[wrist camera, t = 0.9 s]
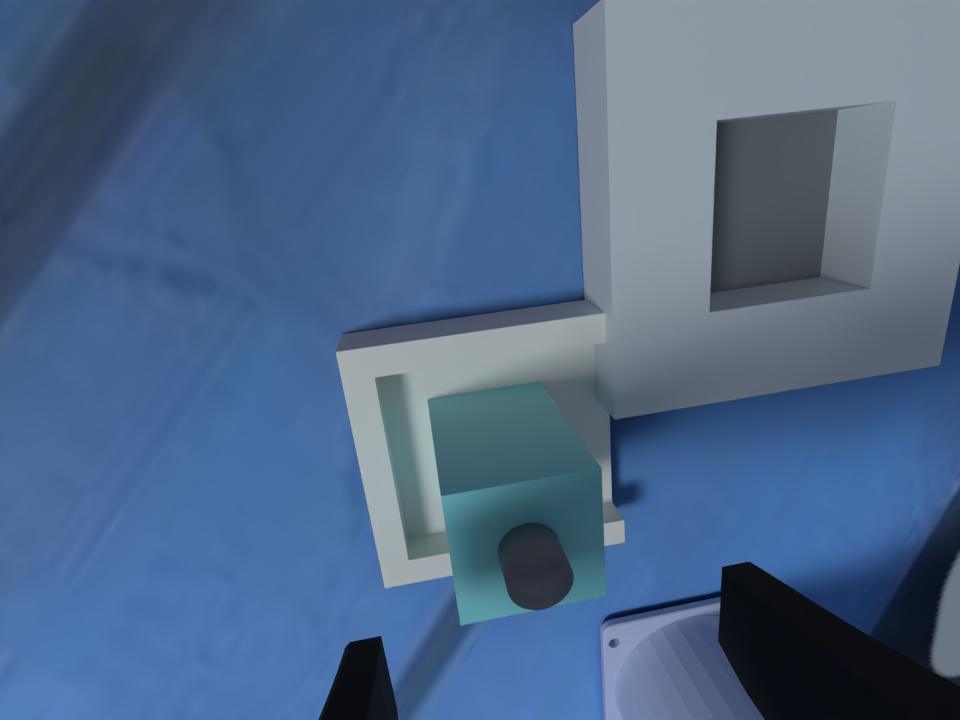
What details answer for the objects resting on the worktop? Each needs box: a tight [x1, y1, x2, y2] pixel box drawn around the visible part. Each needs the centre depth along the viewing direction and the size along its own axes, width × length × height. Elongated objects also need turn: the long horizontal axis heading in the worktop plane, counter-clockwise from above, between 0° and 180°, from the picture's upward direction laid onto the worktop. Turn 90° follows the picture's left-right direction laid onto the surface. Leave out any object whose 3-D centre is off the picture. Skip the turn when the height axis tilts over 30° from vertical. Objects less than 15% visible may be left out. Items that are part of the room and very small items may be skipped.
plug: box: [427, 382, 606, 625], centre depth 16 cm, size 4×4×7 cm
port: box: [573, 0, 960, 419], centre depth 17 cm, size 12×12×3 cm
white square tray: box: [336, 300, 625, 588], centre depth 19 cm, size 9×9×2 cm
